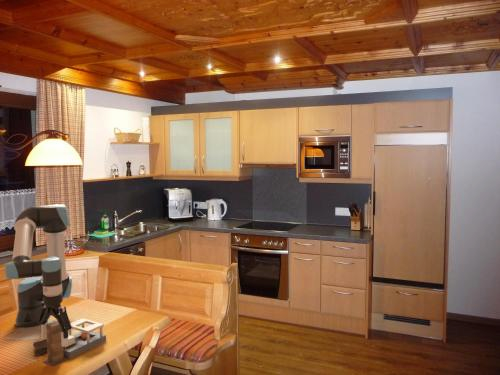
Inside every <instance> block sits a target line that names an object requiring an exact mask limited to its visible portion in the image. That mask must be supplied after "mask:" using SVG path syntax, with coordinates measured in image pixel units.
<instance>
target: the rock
mask: <svg viewBox="0 0 500 375" xmlns="http://www.w3.org/2000/svg"><path fill="white" fill-rule="evenodd" d="M33 348H34V351H33V352H34V356H38V355H41V354H43V353H45V352H46V353H47V338H46V339H44V340H42V339H40V340H37V341H35V342H33Z"/></svg>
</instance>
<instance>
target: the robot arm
mask: <svg viewBox="0 0 500 375" xmlns="http://www.w3.org/2000/svg"><path fill="white" fill-rule="evenodd" d="M69 216H70V215H69V211H68V207H67V205H65V204H46V205H32V206H29V207H27V208H24V209H23V211H21V212H20V213H19V214H18V215H17V217H16V218H15V221H14V224H13V225H14V226H13V229H14V231H15V235H14V236H15V238H14V244H13V251H12V259H11V260H12V261H9V262H6V263H5V266H4V273H5V274H4V275H5V278H6V279H7V280H21V279H23V280H21V281H20V282H19V283H17V291H16V292H17V303H18V306H17V307H18V311H17V313H16V317H15V321H14V322H15V326H16V327H19V328H29V327H35V326H36V327H37V326H39V325H40V328H41V340H45V339H47V334H46V324H49V323H48V321H49V318H51V316H52V317H54V319H56V321H57V322H58V323H59V325H60V327H61V329H62V331H61V343H62V347H63V346H65V345H68V335H69V331H68V330H70V329H71V330H73V329H72V327H71V324H70V323H71V321H70V319H69V314H68V312H67V307H66V306H61V305H62V302H63V301H64V299H69V298H70V296H71V295H72V294H71V293H72V288H73V287H72V286H73V276H70V273H69V272H67V268H66V267H67V266H66V264H67V263H66V246H65V244H66V242H65V232H66V231H67V229H68V227H69V226H71V224H70V223H71V222H70V219H69V218H70V217H69ZM36 229H42V232H43V233H45V235H46V252H47V258H40V259H32V253H33V252H32V251H33V241H34V240H33V239H34V232H35V230H36Z"/></svg>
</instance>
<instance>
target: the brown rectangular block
mask: <svg viewBox="0 0 500 375" xmlns="http://www.w3.org/2000/svg"><path fill="white" fill-rule="evenodd" d="M61 331H62V329H61V327H60V325H59V323H58V321H57V320H56V321H52V322H49V323H48V324H46V334H47V338H46V339H47V351H46V353H47V359H48V361H50V362H53V363H55V362H57V361H60V360H62V359H64V357H63V347H62V343H61Z"/></svg>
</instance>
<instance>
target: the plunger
mask: <svg viewBox="0 0 500 375" xmlns="http://www.w3.org/2000/svg"><path fill="white" fill-rule="evenodd" d="M80 332H81V333H82V340H83V341H85V340H87V333H86V332H82V331H80ZM89 335H90V333H89Z"/></svg>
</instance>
